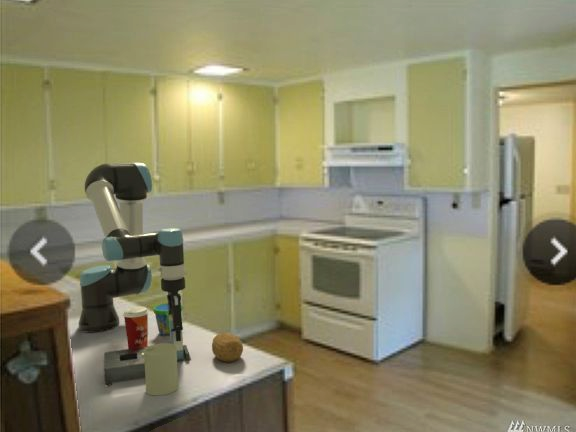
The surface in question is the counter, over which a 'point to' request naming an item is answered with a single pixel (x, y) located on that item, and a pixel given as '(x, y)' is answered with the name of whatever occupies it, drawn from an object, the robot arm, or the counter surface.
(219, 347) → the potato
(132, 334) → the coffee cup
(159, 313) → the snack cup
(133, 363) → the port
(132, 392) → the counter surface
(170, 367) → the can
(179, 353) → the plug
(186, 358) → the dark grey bridge bracket
